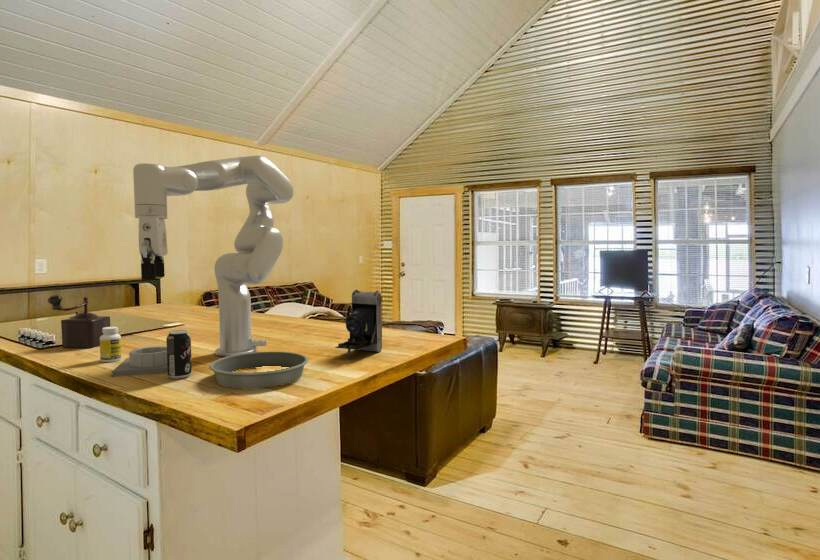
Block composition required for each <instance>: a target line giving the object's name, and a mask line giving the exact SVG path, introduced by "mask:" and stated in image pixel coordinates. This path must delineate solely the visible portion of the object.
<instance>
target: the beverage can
mask: <svg viewBox="0 0 820 560" xmlns="http://www.w3.org/2000/svg"><path fill="white" fill-rule="evenodd" d="M165 339H166V346H167V371H168V372H167V377H168V378H170V379H174V380H180V379H186V378H189V376H191V375H192V373H193V365H192V344H191V343H192V337H191V334H189V330H187V329H177V330H170V331H168V335H167V337H166V338H165Z"/></svg>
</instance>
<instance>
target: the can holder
mask: <svg viewBox="0 0 820 560" xmlns="http://www.w3.org/2000/svg"><path fill="white" fill-rule="evenodd" d="M128 353H129V355H128V356H129V357H126V358H125V359H124V360H123V361H122V362H121V363H119V365H118V366H116V367H115V368H114V369H113V370H111V376H112V377H115V376H118V377H119V376H131V375H134V376H135V375H145V374H146V375H147V374H159V373H161V374H162V373H168V371H167V345H166V346H165V345H164V346H163V345H156V346H144V347H139V348H135V349H132V350H130V351H129V352H128Z"/></svg>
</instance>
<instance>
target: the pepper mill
mask: <svg viewBox="0 0 820 560" xmlns="http://www.w3.org/2000/svg"><path fill="white" fill-rule="evenodd" d="M62 301H63V297H62V296H61V295H60V294H59V295H58V294H54V295H51V296H49V297H48V298H47V303H48V304H49V305H51V306H52V308H51V310H53V311H58V312H59V311H62V312H69V311H74V310H76V309H80V308H82V307H83V309H84V310H83V311H82V312H78V311H75V315H72V316H70V317H69V318H67V319H61V321H60V324H61V326H60V327H61V347H62V348H65V349H80V350H81V349H83V348H84V349H93V348H94V347H95V348H98V347H100V337H101V336H102V335H103V332H102V328H105V327H111V317H110V316H108V315H97V314H96V313H92V312H89V311H88V310H89V309H88V304H89V298H88V296H84V297H83V302H82V303H80V304H77V305H74V306H72V307H66V308H65V307H63V305H62ZM95 348H94V349H95Z"/></svg>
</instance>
